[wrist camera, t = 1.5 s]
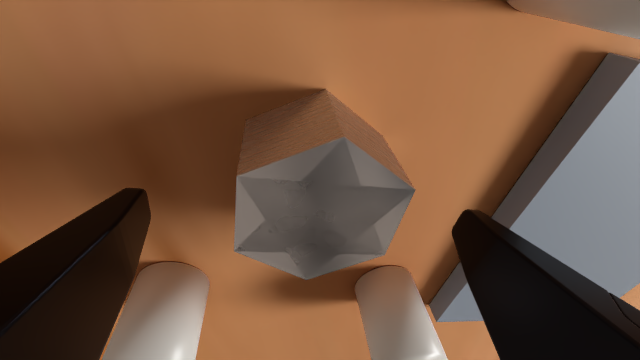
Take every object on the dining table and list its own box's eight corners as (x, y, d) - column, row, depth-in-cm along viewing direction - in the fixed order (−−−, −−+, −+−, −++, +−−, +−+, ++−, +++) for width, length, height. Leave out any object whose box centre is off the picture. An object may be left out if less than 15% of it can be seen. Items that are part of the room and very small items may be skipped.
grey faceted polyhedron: (353, 217, 12) (372, 280, 10) (241, 211, 11) (233, 279, 9) (394, 97, 9) (436, 147, 7) (247, 76, 8) (238, 124, 6)
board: (579, 303, 20) (592, 318, 19) (428, 305, 17) (436, 321, 16) (828, 100, 12) (870, 110, 11) (608, 52, 9) (640, 61, 8)
